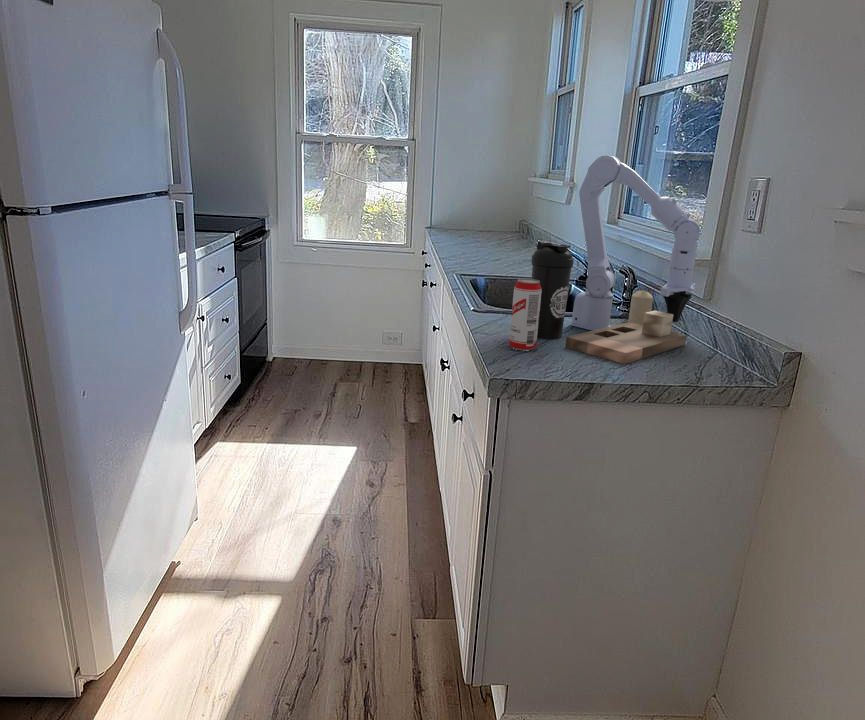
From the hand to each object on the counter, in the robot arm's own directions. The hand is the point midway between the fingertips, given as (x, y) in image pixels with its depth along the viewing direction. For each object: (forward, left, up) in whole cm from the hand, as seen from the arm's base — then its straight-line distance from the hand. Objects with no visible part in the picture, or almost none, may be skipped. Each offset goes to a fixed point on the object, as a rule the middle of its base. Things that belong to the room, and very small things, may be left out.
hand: (673, 321), depth 167 cm
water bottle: (-21, -26, -5) cm, 33 cm away
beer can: (-16, -41, -5) cm, 44 cm away
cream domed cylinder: (-12, +4, -5) cm, 13 cm away
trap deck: (-3, -17, -5) cm, 18 cm away
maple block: (0, -8, -2) cm, 8 cm away
